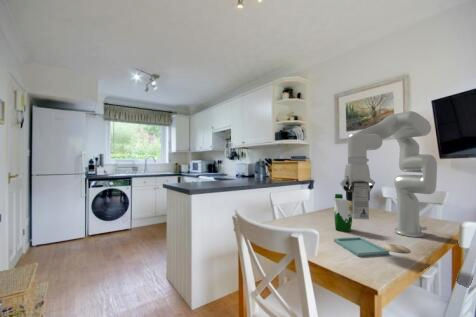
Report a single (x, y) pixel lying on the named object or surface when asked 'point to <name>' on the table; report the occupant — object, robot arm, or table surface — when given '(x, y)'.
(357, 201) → the coffee box
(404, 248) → the gold metallic coaster
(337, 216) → the milk carton
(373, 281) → the table surface
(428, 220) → the table surface
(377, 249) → the tray
